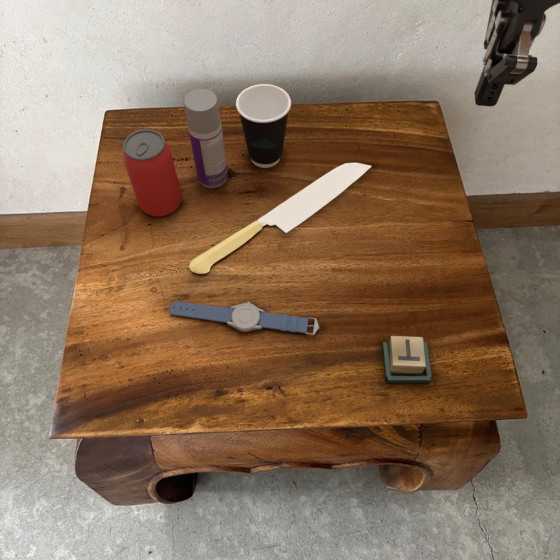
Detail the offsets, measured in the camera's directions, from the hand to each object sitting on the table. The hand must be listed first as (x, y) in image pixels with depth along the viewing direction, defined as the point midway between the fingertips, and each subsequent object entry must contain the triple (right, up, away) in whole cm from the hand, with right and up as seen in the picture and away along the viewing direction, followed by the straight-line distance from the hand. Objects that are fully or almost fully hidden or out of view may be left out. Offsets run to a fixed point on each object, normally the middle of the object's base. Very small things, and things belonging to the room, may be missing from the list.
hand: (484, 101), depth 58 cm
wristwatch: (-26, -24, +15) cm, 39 cm away
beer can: (-40, -7, +25) cm, 48 cm away
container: (-32, -3, +28) cm, 43 cm away
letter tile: (-6, -29, +12) cm, 32 cm away
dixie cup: (-24, +1, +30) cm, 39 cm away
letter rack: (-6, -29, +11) cm, 32 cm away
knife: (-21, -10, +24) cm, 33 cm away
